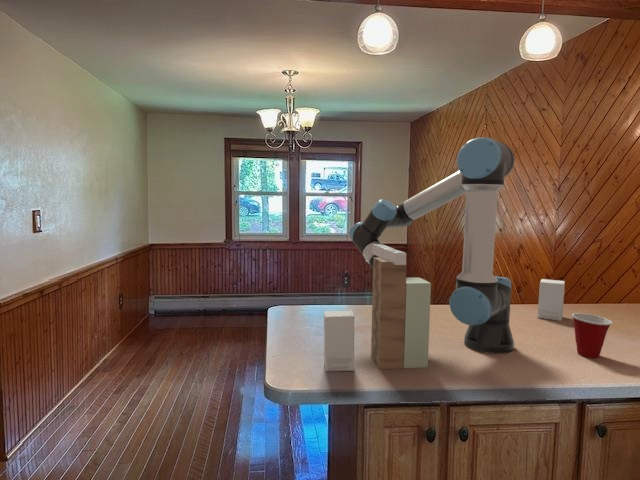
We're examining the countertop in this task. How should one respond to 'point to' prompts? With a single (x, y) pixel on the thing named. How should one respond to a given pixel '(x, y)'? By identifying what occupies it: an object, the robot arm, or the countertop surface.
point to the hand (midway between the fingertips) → (416, 308)
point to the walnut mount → (388, 314)
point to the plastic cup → (590, 333)
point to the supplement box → (551, 299)
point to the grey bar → (389, 254)
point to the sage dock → (416, 323)
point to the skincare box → (339, 340)
